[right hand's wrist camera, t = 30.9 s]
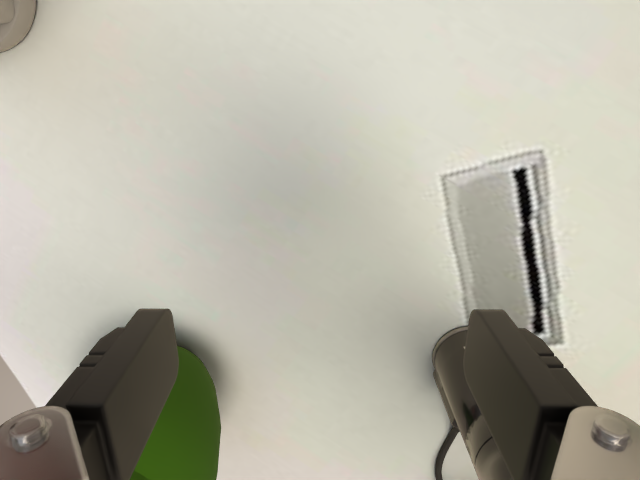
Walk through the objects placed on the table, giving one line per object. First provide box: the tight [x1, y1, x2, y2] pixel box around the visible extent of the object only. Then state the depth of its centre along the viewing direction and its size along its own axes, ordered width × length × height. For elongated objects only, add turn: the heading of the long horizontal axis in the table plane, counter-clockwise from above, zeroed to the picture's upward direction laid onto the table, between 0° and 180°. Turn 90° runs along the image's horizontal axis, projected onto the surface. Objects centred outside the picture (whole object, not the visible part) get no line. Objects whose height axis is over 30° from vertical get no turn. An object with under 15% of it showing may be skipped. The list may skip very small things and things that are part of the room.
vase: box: [130, 346, 221, 480], centre depth 48 cm, size 20×20×24 cm
